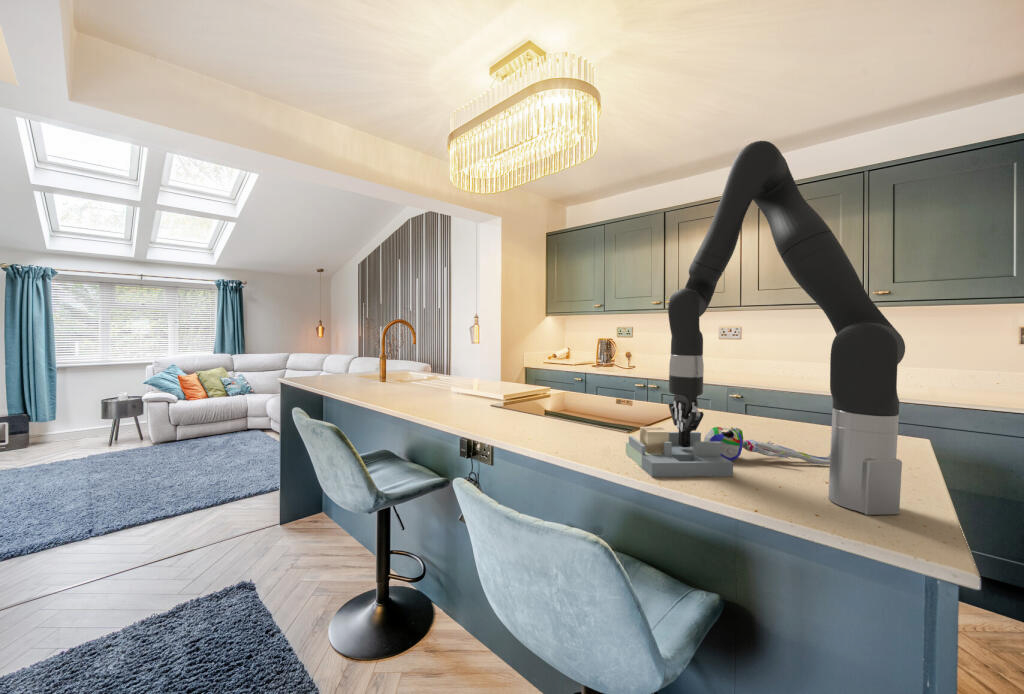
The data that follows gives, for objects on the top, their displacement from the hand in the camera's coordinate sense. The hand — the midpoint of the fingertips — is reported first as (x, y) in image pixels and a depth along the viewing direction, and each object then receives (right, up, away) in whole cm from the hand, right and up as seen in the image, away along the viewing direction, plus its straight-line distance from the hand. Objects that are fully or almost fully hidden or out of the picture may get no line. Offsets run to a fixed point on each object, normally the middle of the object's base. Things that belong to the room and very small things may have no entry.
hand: (684, 446), depth 100 cm
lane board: (-3, -4, -1) cm, 5 cm away
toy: (+22, -5, +2) cm, 22 cm away
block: (-7, -1, 0) cm, 7 cm away
